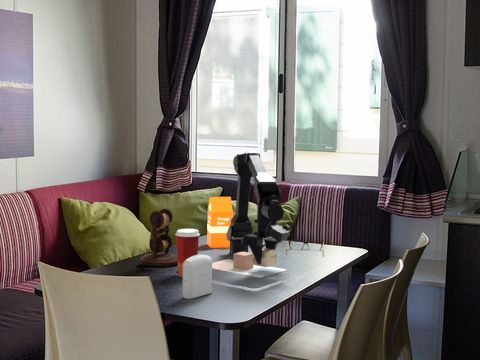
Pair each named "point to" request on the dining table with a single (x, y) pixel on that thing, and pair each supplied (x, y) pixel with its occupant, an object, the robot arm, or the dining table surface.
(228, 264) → the white board
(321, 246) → the eyeglasses
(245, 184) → the robot arm
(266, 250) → the birch block
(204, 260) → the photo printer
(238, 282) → the dining table surface
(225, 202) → the orange juice
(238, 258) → the terracotta block
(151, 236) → the wooden spool stand
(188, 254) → the coffee cup
